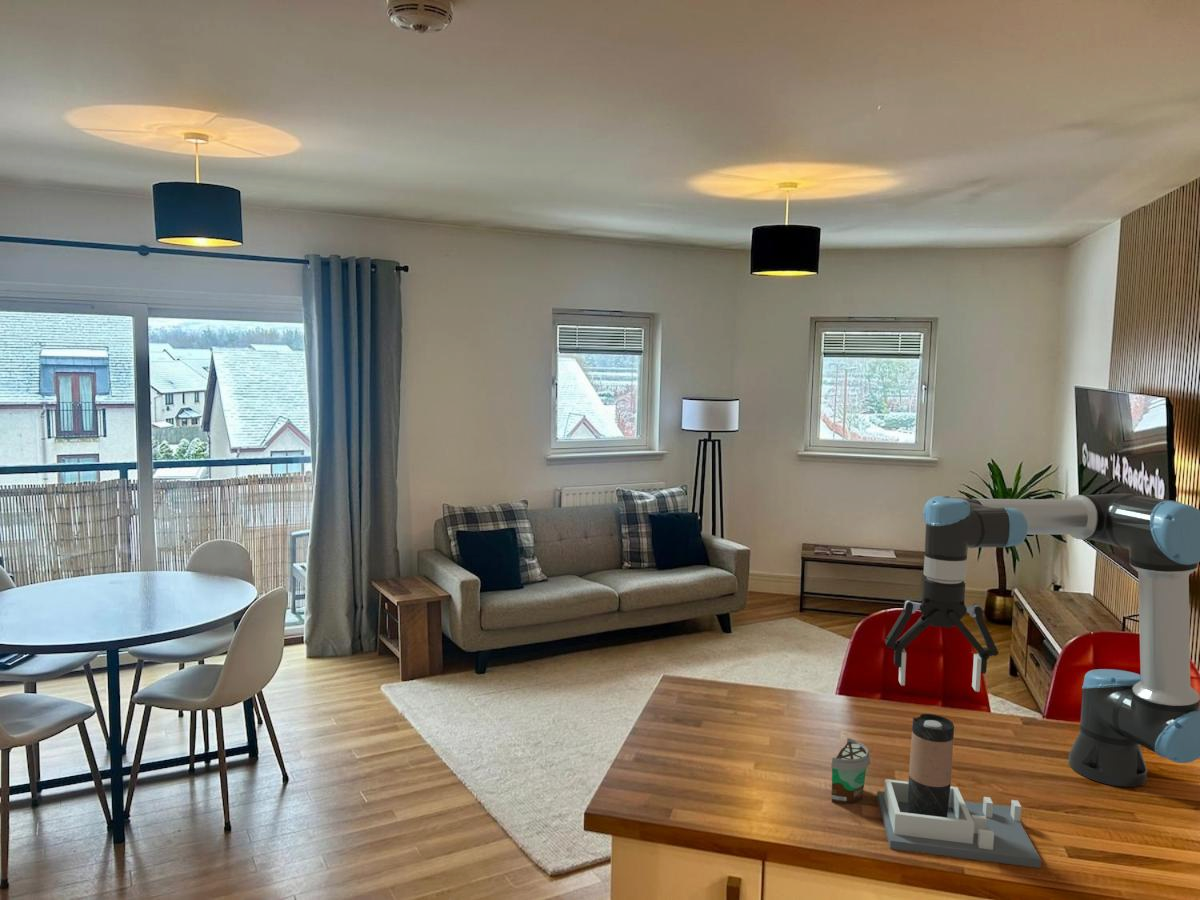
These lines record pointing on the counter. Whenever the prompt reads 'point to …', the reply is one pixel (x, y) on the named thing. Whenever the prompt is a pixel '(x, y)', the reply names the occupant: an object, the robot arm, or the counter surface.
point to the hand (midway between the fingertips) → (938, 686)
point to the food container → (849, 773)
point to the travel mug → (930, 765)
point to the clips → (980, 822)
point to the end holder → (928, 816)
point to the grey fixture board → (1007, 837)
